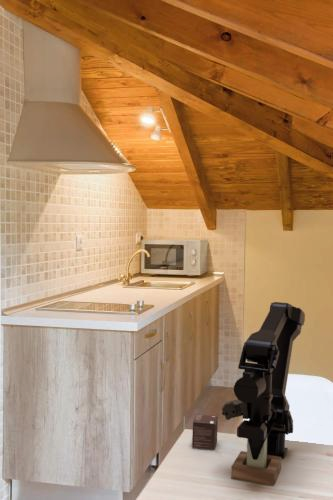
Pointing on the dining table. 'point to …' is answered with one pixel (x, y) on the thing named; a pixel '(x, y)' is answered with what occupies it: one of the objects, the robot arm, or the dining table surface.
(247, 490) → the dining table surface
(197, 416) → the box
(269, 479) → the socket block
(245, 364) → the robot arm
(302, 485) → the dining table surface
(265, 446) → the peg
